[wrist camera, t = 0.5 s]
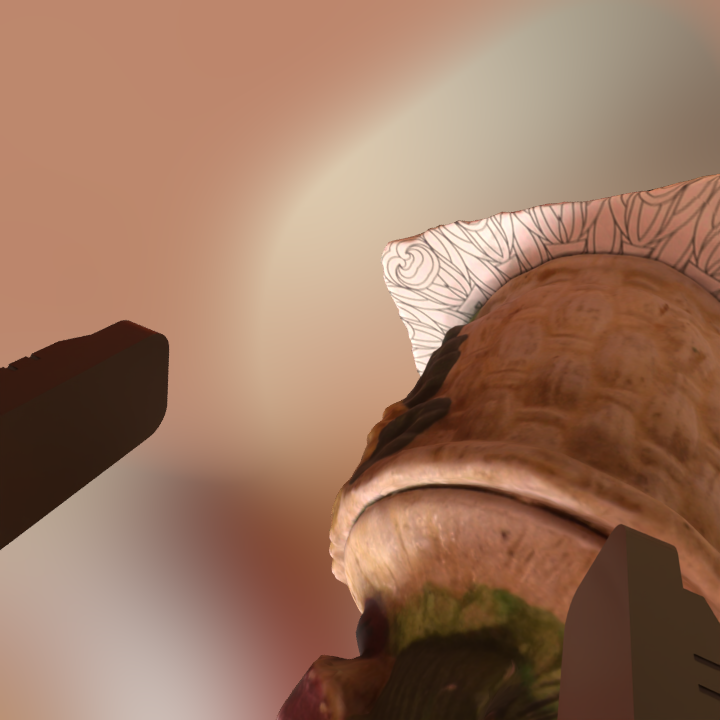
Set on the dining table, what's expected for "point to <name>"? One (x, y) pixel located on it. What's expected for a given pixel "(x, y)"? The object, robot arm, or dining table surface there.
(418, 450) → the cookie jar
